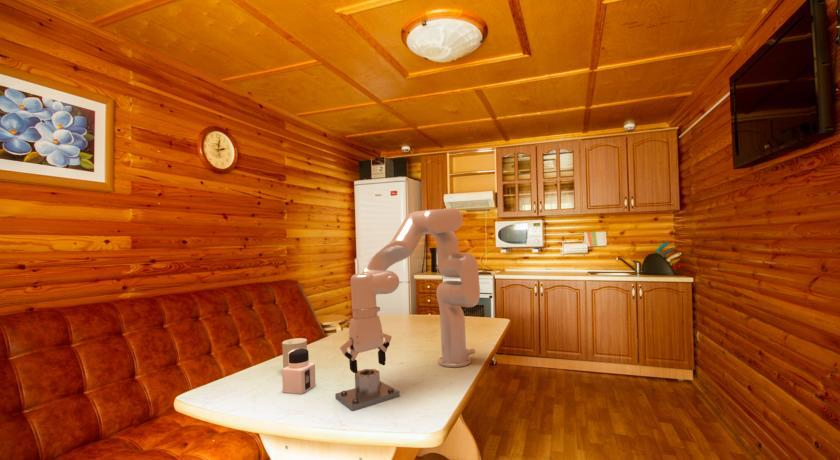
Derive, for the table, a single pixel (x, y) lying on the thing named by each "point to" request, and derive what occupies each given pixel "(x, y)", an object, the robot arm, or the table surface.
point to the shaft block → (358, 402)
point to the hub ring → (367, 382)
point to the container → (298, 372)
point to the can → (292, 347)
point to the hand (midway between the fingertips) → (368, 368)
